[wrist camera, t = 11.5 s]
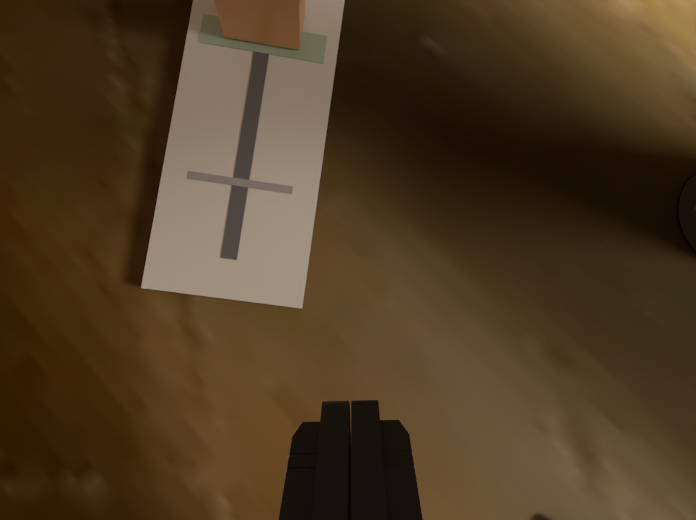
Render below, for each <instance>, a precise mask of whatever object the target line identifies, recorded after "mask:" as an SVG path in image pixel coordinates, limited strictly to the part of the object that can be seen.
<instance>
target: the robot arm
mask: <svg viewBox="0 0 696 520" xmlns="http://www.w3.org/2000/svg"><path fill="white" fill-rule="evenodd" d="M678 211H679V220H680V224H681V227H682V230H683V233H684V235H685V236H686V238H687V240H688V242H689V243H690V244H691V246H692V247H693V248H694V249H695V250H696V174H694V175H693V176H692V177H691V178H690V179H689V180H688V182H687V183H686V185H685V187H684V188H683V190H682V193H681V196H680V200H679V210H678ZM279 520H422V513H421V507H420V501H419V494H418V488H417V482H416V475H415V469H414V463H413V456H412V450H411V443H410V437H409V434H408V432H407V431H406V429H405V428H404V427H403V425H402V424H401V422H400V421H399V420H380V417H379V404H378V400H367V401H352V402H351V429H350V405H349V401H328V402H322V410H321V421H320V422H302V424H301V425H300V427H299V428H298V430H297V431H296V432H295V434H294V435H293V437H292V443H291V449H290V457H289V461H288V467H287V473H286V479H285V485H284V491H283V497H282V503H281V509H280V515H279Z"/></svg>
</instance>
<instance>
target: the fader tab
mask: <svg viewBox="0 0 696 520" xmlns="http://www.w3.org/2000/svg"><path fill="white" fill-rule="evenodd" d="M214 3H215V6H216V10H217V13H218V17H219V20H220V24H221V27H222V31H223V34H224V37H227V38H233V39H239V40H245V41H250V42H256V43H262V44H268V45H273V46H279V47H285V48H291V49H297V50H300V46H301V39H302V32H303V25H304V19H305V0H214Z"/></svg>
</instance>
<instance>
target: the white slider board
mask: <svg viewBox="0 0 696 520" xmlns="http://www.w3.org/2000/svg"><path fill="white" fill-rule="evenodd" d="M344 2H345V0H305V19H304V25H303V32H302V39H301V46H300V50H297V49H291V48H285V47H279V46H273V45H268V44H262V43H256V42H250V41H245V40H239V39H233V38H227V37H224V34H223V31H222V27H221V24H220V20H219V17H218V13H217V10H216V6H215V3H214V0H193V4H192V9H191V15H190V20H189V26H188V31H187V37H186V42H185V48H184V53H183V59H182V64H181V70H180V75H179V81H178V86H177V92H176V98H175V103H174V109H173V114H172V120H171V125H170V131H169V136H168V142H167V147H166V153H165V158H164V164H163V169H162V175H161V180H160V186H159V191H158V197H157V202H156V208H155V213H154V219H153V224H152V230H151V235H150V241H149V246H148V252H147V257H146V263H145V268H144V274H143V279H142V285H141V288H145V289H152V290H160V291H168V292H176V293H184V294H191V295H199V296H207V297H215V298H223V299H231V300H238V301H246V302H254V303H262V304H270V305H278V306H285V307H293V308H301V309H302V306H303V299H304V292H305V285H306V277H307V270H308V263H309V256H310V248H311V241H312V234H313V227H314V219H315V212H316V205H317V198H318V190H319V183H320V176H321V169H322V161H323V154H324V147H325V140H326V132H327V125H328V118H329V111H330V103H331V96H332V89H333V82H334V74H335V67H336V60H337V52H338V45H339V38H340V31H341V23H342V16H343V9H344Z"/></svg>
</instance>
